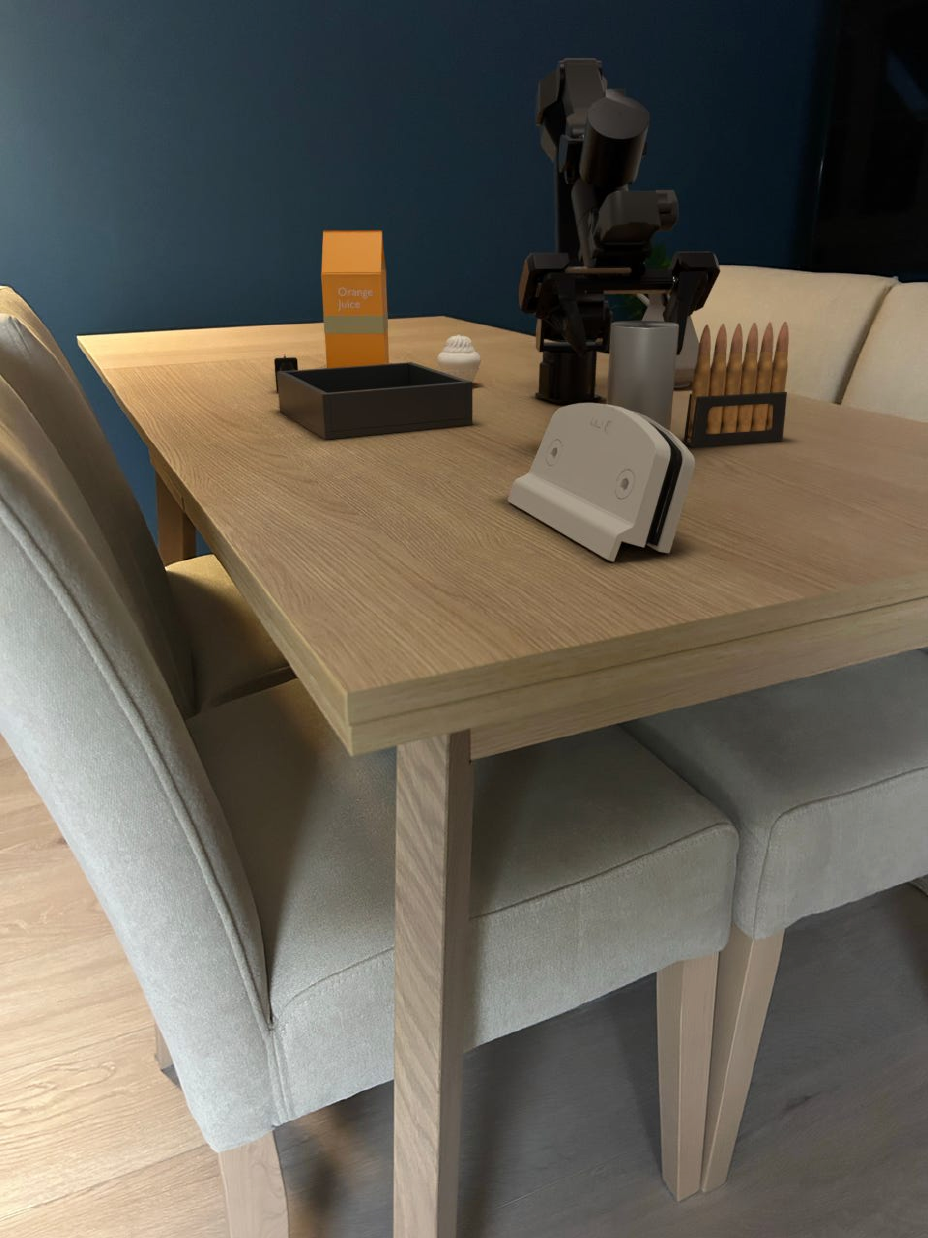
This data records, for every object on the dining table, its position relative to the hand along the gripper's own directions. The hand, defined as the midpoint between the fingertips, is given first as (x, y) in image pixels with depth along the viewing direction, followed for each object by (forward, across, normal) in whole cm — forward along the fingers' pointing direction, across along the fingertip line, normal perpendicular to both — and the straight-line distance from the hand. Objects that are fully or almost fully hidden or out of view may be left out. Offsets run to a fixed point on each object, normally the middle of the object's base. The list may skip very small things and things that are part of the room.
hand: (631, 353), depth 88 cm
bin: (-10, -24, +24) cm, 35 cm away
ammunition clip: (+3, +13, +11) cm, 18 cm away
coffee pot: (-26, +17, +40) cm, 51 cm away
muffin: (-25, -10, +39) cm, 47 cm away
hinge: (+22, -8, -7) cm, 24 cm away
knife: (-26, -34, +40) cm, 59 cm away
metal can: (+9, 0, +5) cm, 11 cm away
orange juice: (-36, -24, +50) cm, 66 cm away
